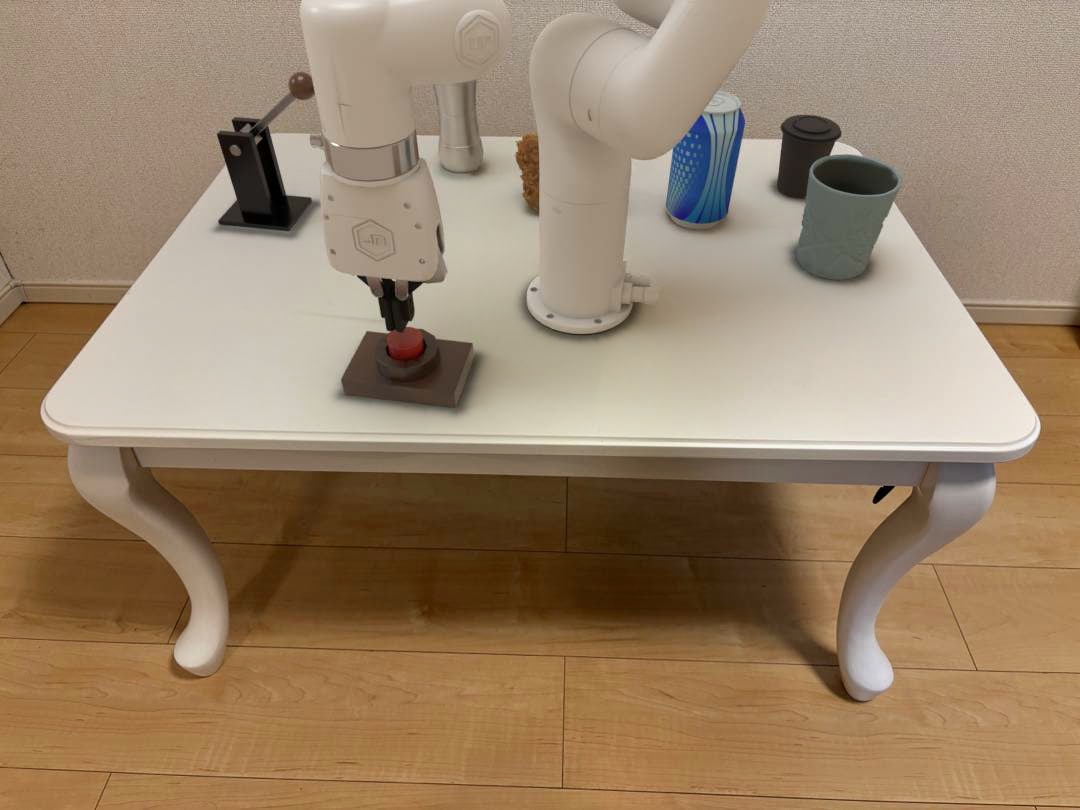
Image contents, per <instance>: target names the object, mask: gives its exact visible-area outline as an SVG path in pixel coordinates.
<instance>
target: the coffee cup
mask: <svg viewBox="0 0 1080 810" xmlns="http://www.w3.org/2000/svg"><path fill="white" fill-rule="evenodd" d="M780 131H781V133H782V136H781V137H782V138H781V146H780V155H779V163H778V164H779V165H778V173H777V181H776V183H777V184H776V189H777V191H778V192H779V193H780V194H781V195H783V196H786V197H789V198H793V199H806V195H807V186H808V179H809V171H810V168H811V166H812V165H813V163H814V162H816V161H817V160H819V159H821V158H823V157H826V156H831V153H832V151H833V149H834V146H835V144H836V141H838V140H839V139H840V138H841V137H842V130H841V127H840V126H839V124H838V123H836V121H833V120H832V119H829V118H827V117H825V116H820V115H814V114H797V115H792V116H789V117H787V118H785V120H784V121H782V122H781V124H780Z"/></svg>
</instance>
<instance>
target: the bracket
mask: <svg viewBox="0 0 1080 810" xmlns="http://www.w3.org/2000/svg"><path fill="white" fill-rule="evenodd" d="M261 119H262V118H252V117H242V116H241V117H239V116H234V117H233V118H232V119H231V124H232V127H233V131H232V130H231V131H228V130H219V131H218V132H217V133H216V137H217V140H218V143H219V146H220V150H221V153H222V156H223V159H224V162H225V165H226V168H227V172H228V176H229V178H230V181H231V185H232V189H233V191H234V195H235V198H236V200H235V201H234V203H233V204H232V205H231V206H229V208H228V209H227V210H226V211H225V212H224V213H223V214H222V215H221V217H220V218H219V219H218V220H217V222H218V225H220V226H221V225H222V226H229V227H238V228H239V227H240V228H251V229H262V230H271V231H283V232H290V231H292V229H293V227H294V226H295V224H296V223H297V221H298V220H299V219H300V218H301V217H302V215H303V214H304V213H305V211H306V210H307V209H308V207H309V206H310V205H311V203H312V202H313V199H312V197H311V196H299V195H289V194H287V192H286V189H285V185H284V180H283V176H282V173H281V170H280V166H279V161H278V158H277V154H276V150H275V147H274V143H273V139H272V135H271V130H270V127H269V125H268V126H267V127H266V128H265V129H264V130H263V131H262V132H260V133H259V134H260V135H261V137H262V138H263V139H262V140H261V141H260V142H259V143H258V144H257V145H256V143H255V139H254V135H253V133H243V132H239V131H240V130H242V129H243V128H244V127H245V126H246V125H247V124H248V123H249V124H250V125H251V126H252V127H254V126H255V125H256V124H257V123H258V122H259V121H260V120H261Z"/></svg>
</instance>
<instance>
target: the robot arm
mask: <svg viewBox="0 0 1080 810" xmlns="http://www.w3.org/2000/svg"><path fill="white" fill-rule="evenodd" d="M611 1H612V3H613V4H614V5H615V6H616V7H617V8H618V10H620V11H621V12H623V13H624V14H626V15H627V16H629V17H631V18H632V19H635V20H636V21H638V22H640V23H643V24H646V25H647V26H649V27H651V28H654V29H656V32H655V33H654V35H653V36H652V38H650V37H648V36H645V35H643V34H641V33H639V32H637V31H636V30H634V29H632V28H629V27H627V26H625V25H623V24H621V23H618V22H616V21H614V20H611V19H609V18H606V17H604V16H601V15H598V14H595V13H590V12H582V11H580V12H577V11H575V12H570V13H565V14H562V15H560V16H558V17H556V18H554V19H553V20H552V21H550V22H549V23H548V24H547V25H546V26H545V27H544V28H543V29H542V30H541V32H540V33H539V35H538V37H537V38H536V40H535V41H534V44H533V47H532V50H531V53H530V59H529V63H528V64H529V65H528V83H529V92H530V98H531V103H532V109H533V113H534V120H535V125H536V130H537V132H536V133H537V135H538V144H539V212H538V214H539V217H538V219H539V224H538V226H539V228H538V229H539V233H538V234H539V235H538V236H539V237H538V239H539V275H537V276H535V278H534V279H532V281H531V282H530V284H529V285H528V287H527V291H526V304H527V305H526V306H527V309H528V311H529V312H530V314H531V316H533V317H534V319H535V320H536V321H538V322H539V323H541V324H542V325H544V326H546V327H548V328H549V329H551V330H555V331H559V332H561V333H566V334H572V335H574V334H575V335H588V334H596V333H601V332H605V331H607V330H610V329H613V328H614V327H616V326H619V325H620V324H622V322H624V321H625V320H626V319H627V318H628V317H629V315H630V314H631V311H632V309H633V305H634V304H633V303H642V304H645V305H646V304H647V305H656V306H659V301H660V293H661V288H660V287H654V286H651V280H652V277H651V276H645V275H640V276H639V275H632V273H631V272H627V265H628V261H627V260H624V257H625V255H624V254H625V245H626V233H627V232H626V231H627V223H628V210H629V201H630V199H629V198H630V189H631V188H630V187H631V180H632V179H631V178H632V159H633V160H638V161H650V160H655V159H658V158H660V157H662V156H664V155H666V154H667V153H669V152H670V151H671V150H673V148H674V147H675V146H676V145H677V144H678V143H679V142H680V141H681V140H682V139H683V137H684V136H685V135H686V134H687V133H688V131H689V130H690V129H691V128H692V126H693V125H694V123H695V122H696V121H697V119H698V118H699V116H700V115H701V114H702V112H703V111H704V109H705V108H706V107H707V105H708V104H709V102H710V101H711V100H712V98H713V97H714V95H715V94H716V92H717V91H720V88H721V87H722V85H723V84H724V82H726V80H727V79H728V77H729V76H730V74H731V72H732V71H733V70H734V68H735V67H736V66H737V64H738V63H739V61H740V60H741V58H742V57H743V56H744V54H745V53H746V51H747V49H748V48H749V47H750V46H751V43H752V42H753V41H754V39H755V38H756V36H757V35H758V33H759V31H760V29H761V27H762V26H763V24H764V23H765V20H766V17H767V15H768V12H769V10H770V7H771V4H772V2H773V0H611ZM299 18H300V25H301V31H302V35H303V40H304V45H305V50H306V55H307V60H308V61H307V62H308V65H309V71H310V75H311V76H312V81H313V86H314V91H315V95H314V96H315V100H316V105H317V109H318V116H319V121H320V126H321V129H320V130H311V131H310V134H309V145H310V146H311V147H312V148H317V149H320V150H321V151H323V152H324V157H325V161H324V163H323V164H322V165H321V166H320V168H319V169H320V170H319V198H320V199H319V200H320V201H319V202H320V214H321V226H322V233H323V239H324V246H325V251H326V252H325V253H326V256H327V260H328V262H329V265H330V266H331V268H333V269H334V270H335V271H337V272H339V273H342V274H347V275H350V276H353V277H354V276H356V277H357V278H358V279H359V280H360V281H361V282H362V283H364V284H365V285H366V286H367V287H369V290H370V292H371V294H372V296H373V297H375V298H377V301H378V307H379V312H380V317H381V318H382V319H384V322H385V329H386V332H391V331H393V330H396V331H397V332H400V333H403V332H404V330H405V328H406V327H408V324H409V322H412V321H413V320H414V318H415V311H416V309H415V302H414V294H413V293H414V292H415V291H416V290H417V289H418V288H420V287H421V286H422V285H423V284H426V285H429V284H439V283H443V282H444V281H445V279H446V277H447V275H448V272H449V271H448V267H447V266H446V263H445V260H444V254H445V248H446V245H445V243H446V242H445V234H444V233H445V232H444V225H443V219H442V215H441V214H442V213H441V208H440V204H439V199H438V196H437V195H438V194H437V191H436V187H435V183H434V180H433V177H432V174H431V171H430V168H429V166H428V163H427V161H426V158H425V159H424V158H422V157H420V154H419V144H418V136H417V127H416V116H415V105H414V98H413V96H414V95H413V90H412V89H413V88H412V87H415V86H420V85H433V84H446V83H462V82H468V81H472V80H476V79H477V80H478V79H481V78H483V77H485V76H487V75H489V74H490V73H492V72H493V71H494V70H496V69H497V67H499V66H500V65H501V63H502V62H503V61H504V59H505V57H506V56H507V54H508V52H509V50H510V47H511V43H512V39H513V22H512V17H511V14H510V11H509V9H508V7H507V5H506V3H505V2H504V0H300V4H299Z"/></svg>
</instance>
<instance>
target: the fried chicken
mask: <svg viewBox="0 0 1080 810" xmlns="http://www.w3.org/2000/svg"><path fill="white" fill-rule="evenodd" d="M515 144H516V148H517V151H515V155H514V157H515V162H516V164H517V166H518V168H519V170H520V171H521V174H520V175H519V178H520V179H521V181H523V182H522V185H523V186H522V188H523V189H522V190H523V192H522V194H521V196H523V197H522V198H523V199H524V201H525V202H526V203H527V204H528V206H529V207H530V208H531V209H534V210H535V211H536V212H537V213H539V144H538V134H536V135H535V134H532V133H525V134H524V135H522V138H521V140H520V139H519V140H515Z"/></svg>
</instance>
